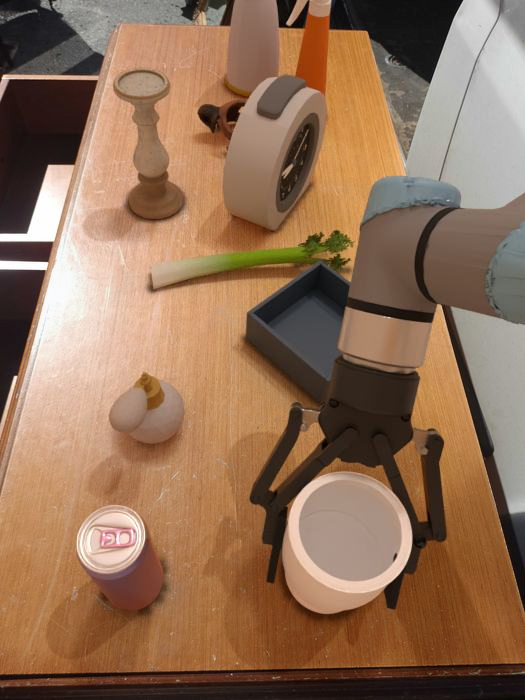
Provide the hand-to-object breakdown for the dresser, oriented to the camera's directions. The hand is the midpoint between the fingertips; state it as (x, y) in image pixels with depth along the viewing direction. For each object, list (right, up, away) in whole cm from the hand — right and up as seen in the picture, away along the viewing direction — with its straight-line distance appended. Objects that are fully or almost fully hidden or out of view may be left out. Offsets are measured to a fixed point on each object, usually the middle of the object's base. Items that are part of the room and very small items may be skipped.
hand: (329, 587), depth 53 cm
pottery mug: (-12, +61, +50) cm, 80 cm away
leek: (-8, +34, +31) cm, 46 cm away
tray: (+1, +24, +24) cm, 34 cm away
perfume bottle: (-19, +12, +15) cm, 27 cm away
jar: (0, -1, +7) cm, 7 cm away
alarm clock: (-5, +48, +41) cm, 63 cm away
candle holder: (-24, +47, +39) cm, 65 cm away
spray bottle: (+1, +66, +54) cm, 86 cm away
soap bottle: (-8, +77, +61) cm, 98 cm away
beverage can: (-20, -2, +5) cm, 20 cm away
